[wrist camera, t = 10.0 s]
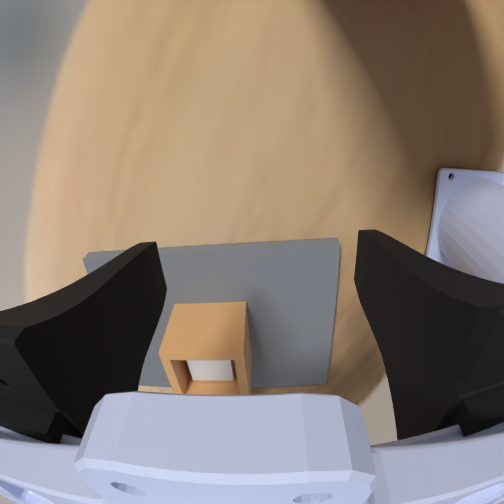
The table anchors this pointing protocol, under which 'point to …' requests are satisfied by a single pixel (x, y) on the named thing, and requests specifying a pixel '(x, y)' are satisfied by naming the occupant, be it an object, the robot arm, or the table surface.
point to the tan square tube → (207, 346)
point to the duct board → (254, 305)
